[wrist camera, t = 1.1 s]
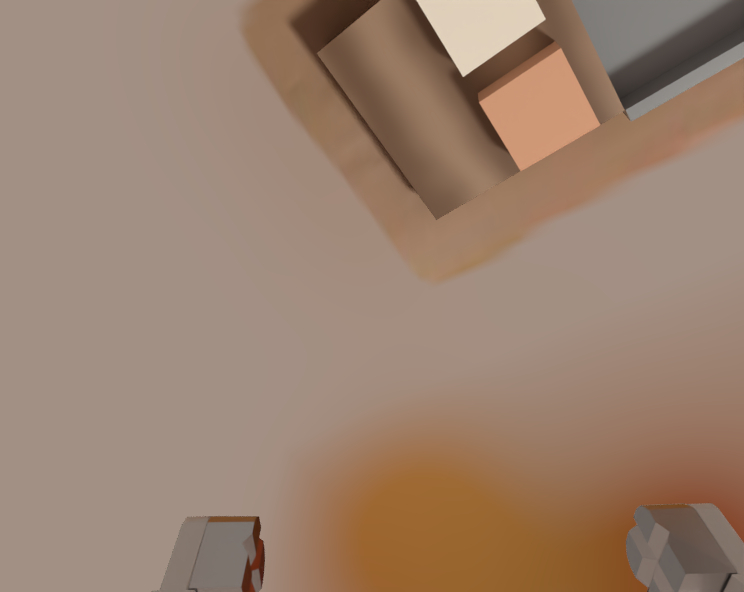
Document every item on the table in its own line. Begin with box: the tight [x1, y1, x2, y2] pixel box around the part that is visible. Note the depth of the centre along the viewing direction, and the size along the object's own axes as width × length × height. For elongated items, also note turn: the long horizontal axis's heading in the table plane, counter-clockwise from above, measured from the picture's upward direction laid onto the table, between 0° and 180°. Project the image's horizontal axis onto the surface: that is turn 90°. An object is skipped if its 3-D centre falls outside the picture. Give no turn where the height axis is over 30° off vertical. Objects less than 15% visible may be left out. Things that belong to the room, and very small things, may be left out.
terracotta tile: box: [478, 41, 600, 171], centre depth 38 cm, size 6×6×2 cm
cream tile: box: [417, 0, 546, 77], centre depth 35 cm, size 6×6×2 cm
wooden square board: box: [317, 0, 625, 220], centre depth 40 cm, size 16×16×3 cm
